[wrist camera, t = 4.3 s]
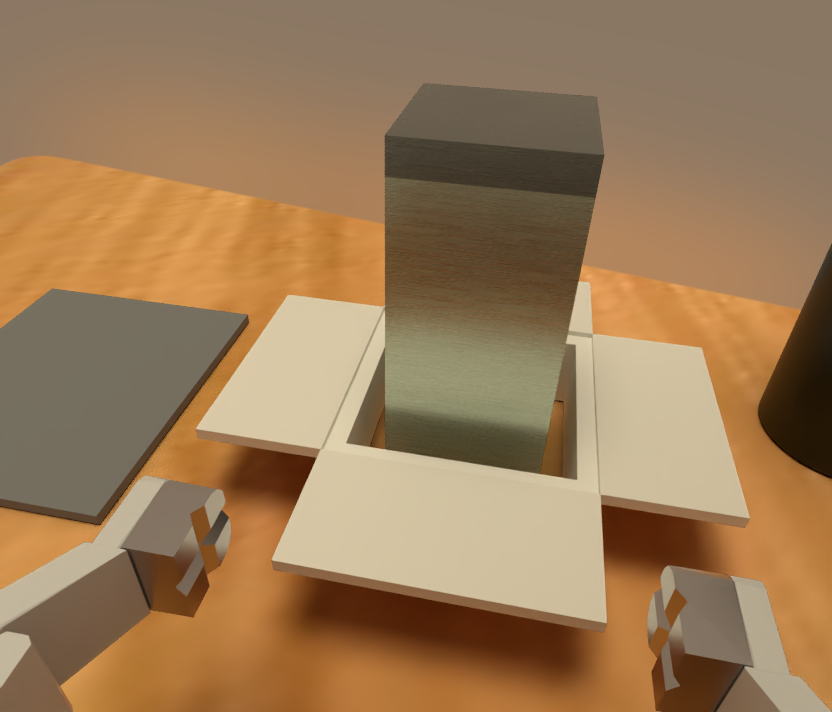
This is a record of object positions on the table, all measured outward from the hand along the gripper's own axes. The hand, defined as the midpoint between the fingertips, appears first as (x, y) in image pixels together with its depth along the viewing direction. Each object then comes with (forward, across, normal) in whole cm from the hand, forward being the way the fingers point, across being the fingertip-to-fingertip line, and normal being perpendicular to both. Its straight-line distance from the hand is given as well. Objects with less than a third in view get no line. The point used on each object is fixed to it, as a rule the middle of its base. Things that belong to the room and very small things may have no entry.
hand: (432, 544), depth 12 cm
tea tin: (+10, 0, +7) cm, 12 cm away
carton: (+10, 0, +7) cm, 12 cm away
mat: (+10, +16, +7) cm, 20 cm away
